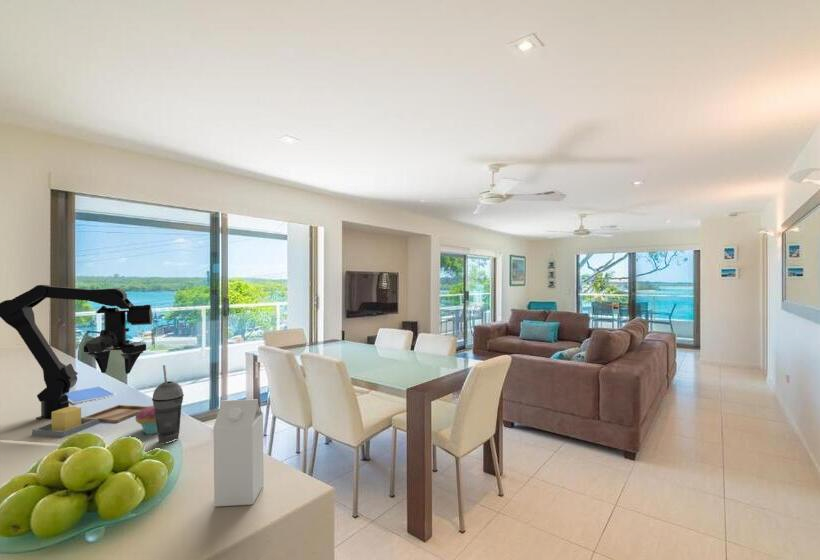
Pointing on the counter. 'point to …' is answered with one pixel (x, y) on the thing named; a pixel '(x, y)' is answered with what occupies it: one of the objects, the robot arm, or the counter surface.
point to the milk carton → (238, 453)
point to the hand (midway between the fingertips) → (115, 373)
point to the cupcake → (147, 420)
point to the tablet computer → (88, 395)
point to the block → (66, 418)
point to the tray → (117, 413)
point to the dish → (48, 430)
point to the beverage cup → (168, 409)
